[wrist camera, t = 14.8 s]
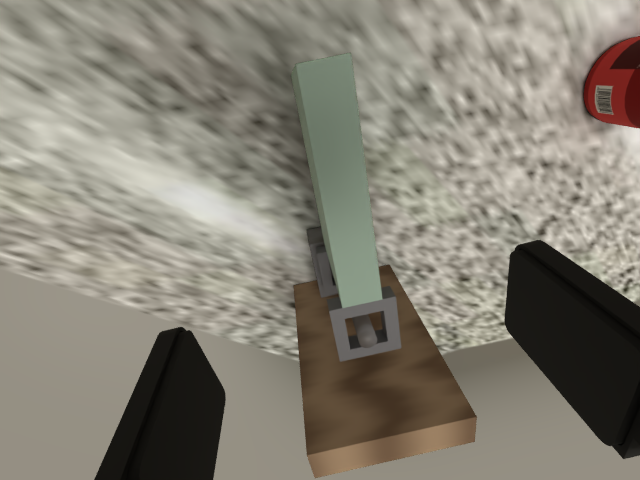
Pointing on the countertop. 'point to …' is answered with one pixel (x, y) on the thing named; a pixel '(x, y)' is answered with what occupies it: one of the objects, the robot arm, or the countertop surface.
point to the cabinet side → (373, 385)
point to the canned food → (616, 85)
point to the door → (343, 202)
